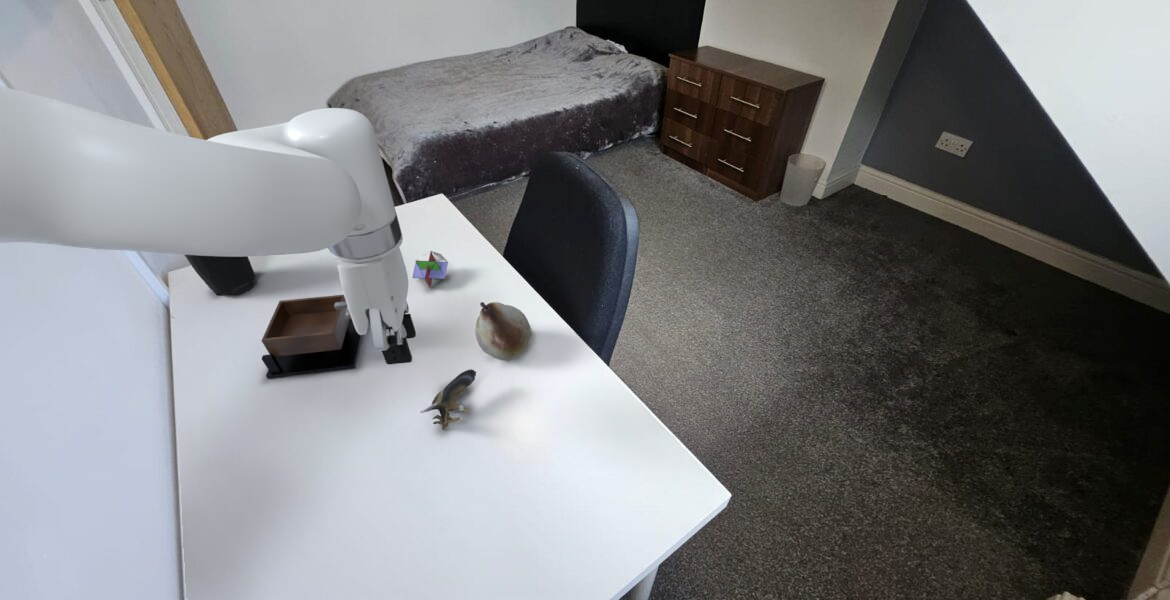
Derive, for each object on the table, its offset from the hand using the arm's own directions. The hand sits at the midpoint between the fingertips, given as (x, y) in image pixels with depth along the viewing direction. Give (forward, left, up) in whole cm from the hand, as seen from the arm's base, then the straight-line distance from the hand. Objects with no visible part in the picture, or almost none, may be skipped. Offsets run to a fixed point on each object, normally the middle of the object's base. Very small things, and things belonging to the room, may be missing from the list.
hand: (401, 348), depth 62 cm
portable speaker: (-41, +41, -17) cm, 60 cm away
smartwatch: (0, 0, 0) cm, 1 cm away
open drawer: (-18, +20, -14) cm, 30 cm away
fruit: (+13, +14, -17) cm, 26 cm away
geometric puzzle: (-1, +36, -17) cm, 40 cm away
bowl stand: (-20, +20, -17) cm, 33 cm away
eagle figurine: (+4, +2, -17) cm, 18 cm away
